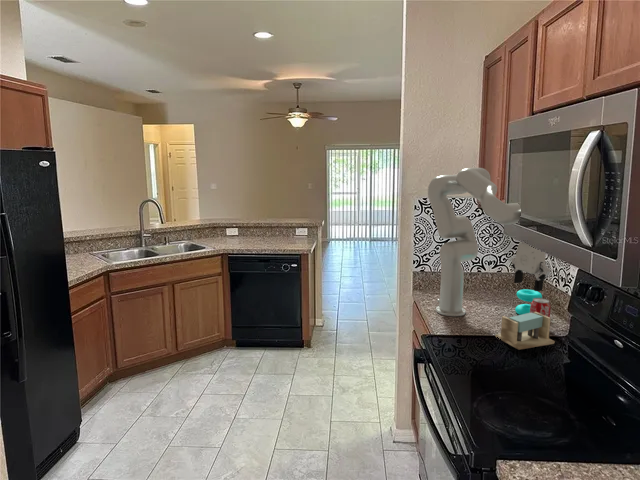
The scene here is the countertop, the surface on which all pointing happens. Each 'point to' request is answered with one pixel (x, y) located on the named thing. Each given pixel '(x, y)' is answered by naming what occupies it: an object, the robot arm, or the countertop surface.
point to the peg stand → (525, 334)
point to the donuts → (526, 296)
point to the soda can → (540, 306)
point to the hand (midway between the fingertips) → (527, 286)
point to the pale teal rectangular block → (528, 321)
